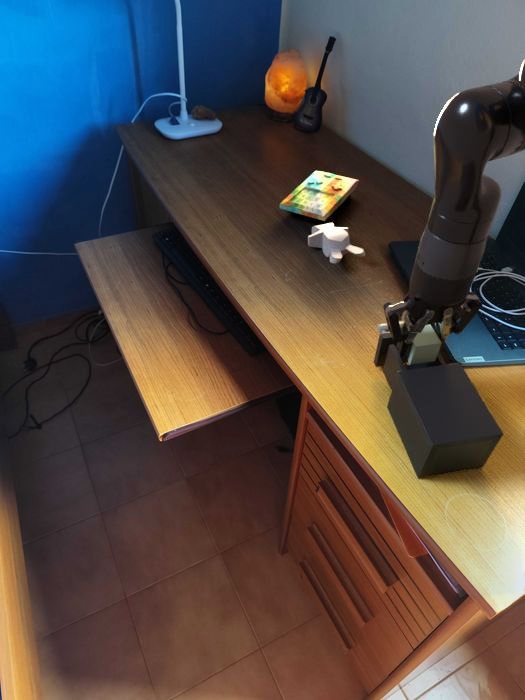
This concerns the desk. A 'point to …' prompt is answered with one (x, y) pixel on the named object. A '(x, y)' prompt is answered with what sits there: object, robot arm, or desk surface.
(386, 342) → the drawer
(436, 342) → the block
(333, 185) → the puzzle game
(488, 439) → the dark box
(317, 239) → the bunny figurine
